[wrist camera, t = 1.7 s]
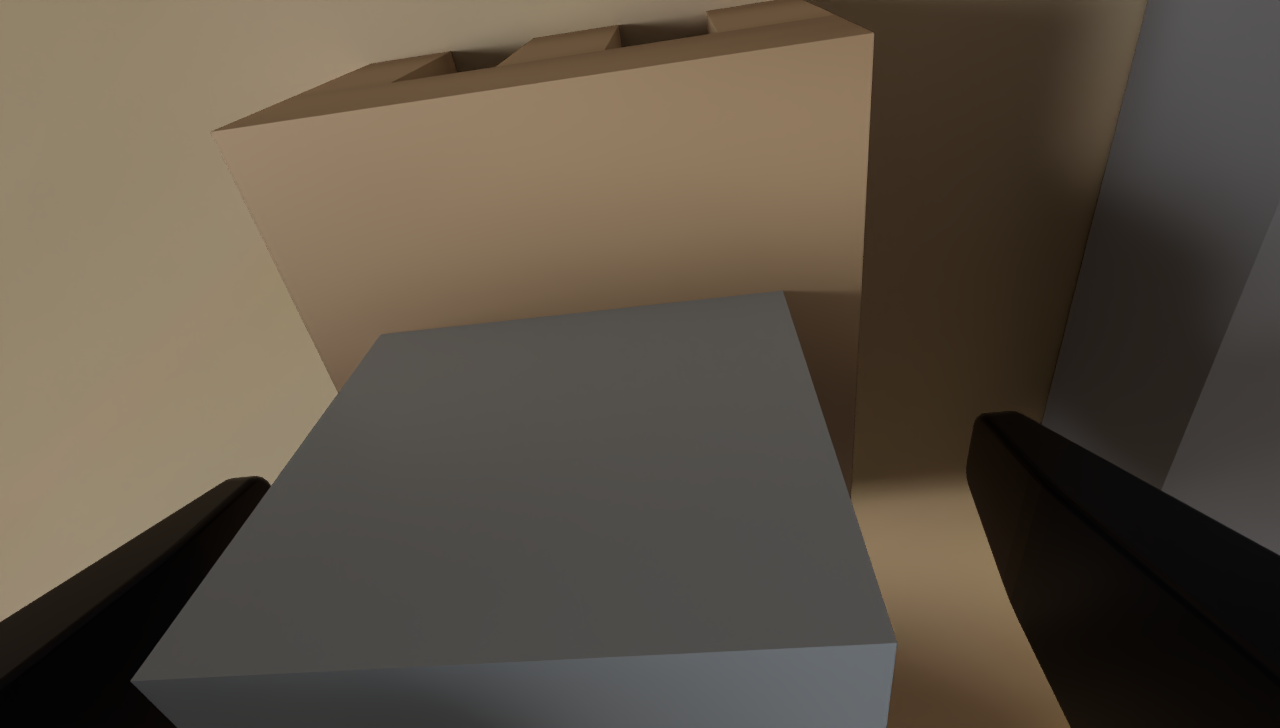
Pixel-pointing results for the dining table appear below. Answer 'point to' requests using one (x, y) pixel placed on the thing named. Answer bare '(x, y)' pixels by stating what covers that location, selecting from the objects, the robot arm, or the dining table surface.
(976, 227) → the dining table surface
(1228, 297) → the dock
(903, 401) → the dining table surface
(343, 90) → the pallet
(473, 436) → the grey cube
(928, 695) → the dining table surface
